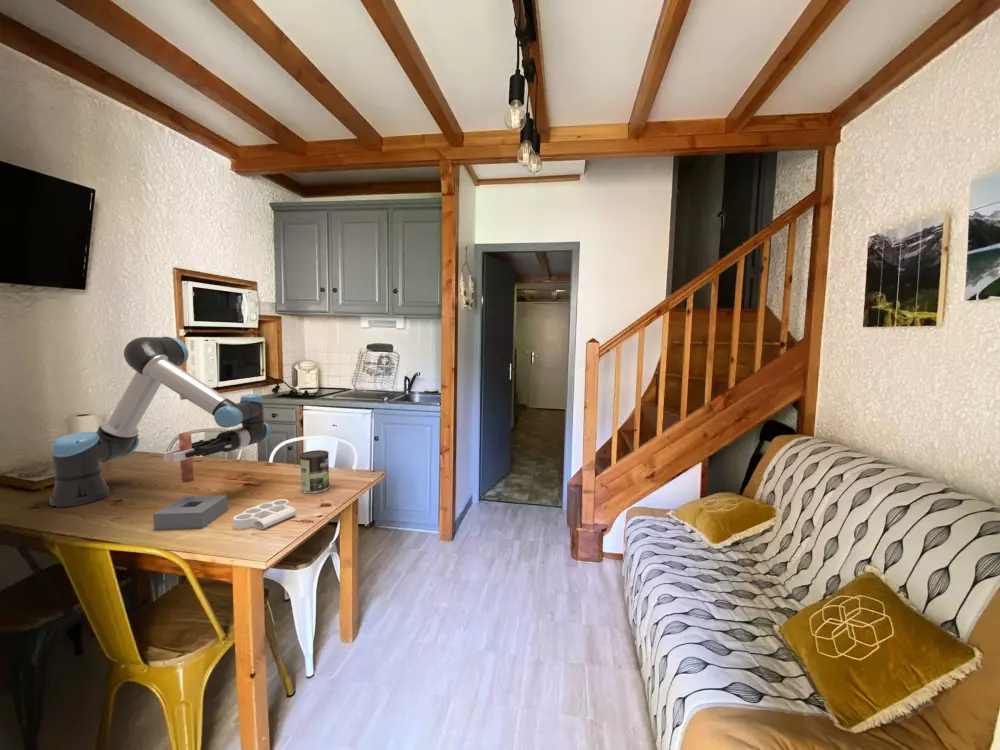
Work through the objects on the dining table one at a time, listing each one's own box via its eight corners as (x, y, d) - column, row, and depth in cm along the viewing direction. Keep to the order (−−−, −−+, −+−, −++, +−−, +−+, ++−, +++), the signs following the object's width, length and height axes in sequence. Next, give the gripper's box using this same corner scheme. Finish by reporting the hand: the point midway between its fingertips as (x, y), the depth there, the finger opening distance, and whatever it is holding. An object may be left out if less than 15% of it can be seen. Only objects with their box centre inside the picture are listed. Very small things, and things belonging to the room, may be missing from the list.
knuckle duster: (254, 536, 125) (223, 526, 131) (304, 513, 141) (275, 505, 147) (253, 525, 124) (223, 516, 130) (304, 504, 140) (275, 496, 147)
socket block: (154, 529, 127) (153, 514, 127) (184, 510, 141) (183, 496, 141) (202, 528, 128) (201, 512, 128) (227, 509, 142) (227, 495, 142)
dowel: (179, 482, 137) (176, 435, 135) (185, 479, 140) (182, 432, 138) (190, 482, 137) (186, 434, 135) (196, 479, 140) (193, 432, 139)
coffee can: (333, 484, 167) (333, 450, 166) (322, 493, 157) (321, 457, 156) (308, 483, 168) (307, 449, 166) (295, 493, 157) (294, 457, 156)
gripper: (251, 451, 153) (190, 471, 130) (215, 448, 157) (150, 467, 134) (250, 431, 153) (188, 447, 130) (214, 428, 156) (148, 444, 134)
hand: (169, 457), depth 132 cm, fingers closed on dowel, 3 cm apart
